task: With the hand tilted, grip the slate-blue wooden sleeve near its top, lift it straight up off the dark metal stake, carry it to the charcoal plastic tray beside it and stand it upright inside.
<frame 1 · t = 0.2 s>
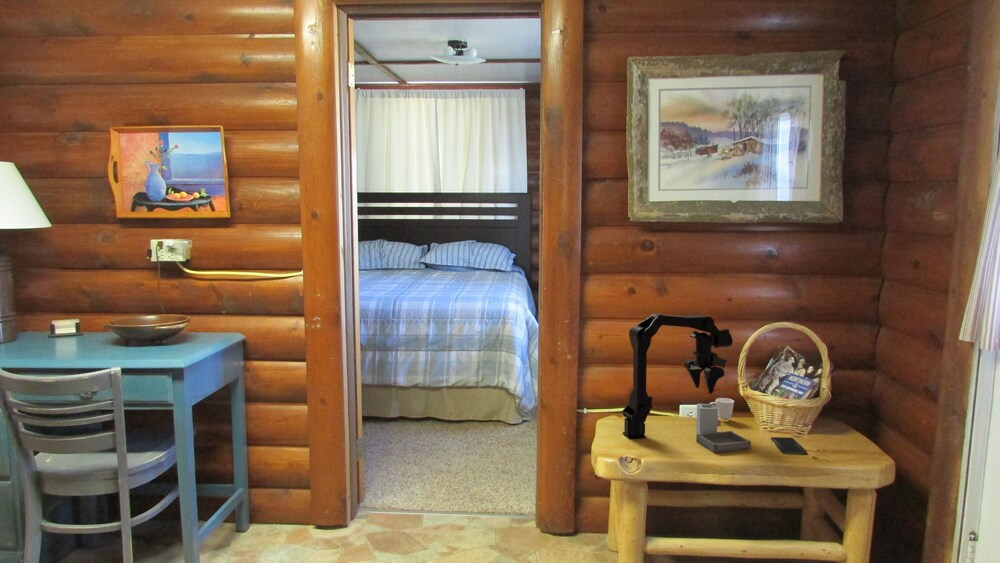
hand: (703, 390, 240), 15 cm above the table, tool pointing down, fingers open, 9 cm apart
tray: (723, 445, 224), on the table
cup: (720, 420, 252), on the table
phone: (788, 448, 222), on the table
sleeve: (706, 436, 234), on the table
stake: (706, 436, 234), on the table
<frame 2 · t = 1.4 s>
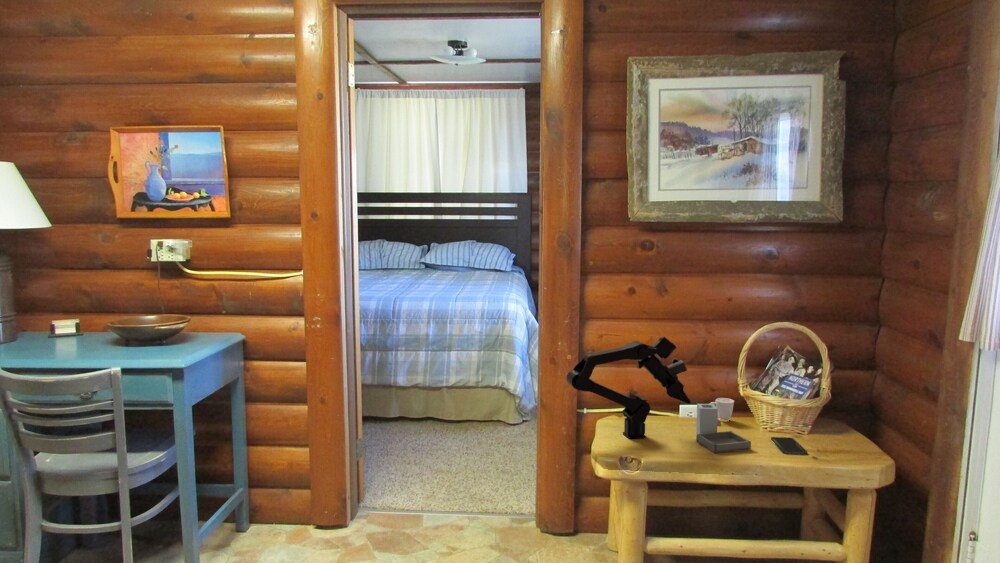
hand: (687, 399, 233), 13 cm above the table, tool tilted 45°, fingers open, 9 cm apart
nothing on the table moved.
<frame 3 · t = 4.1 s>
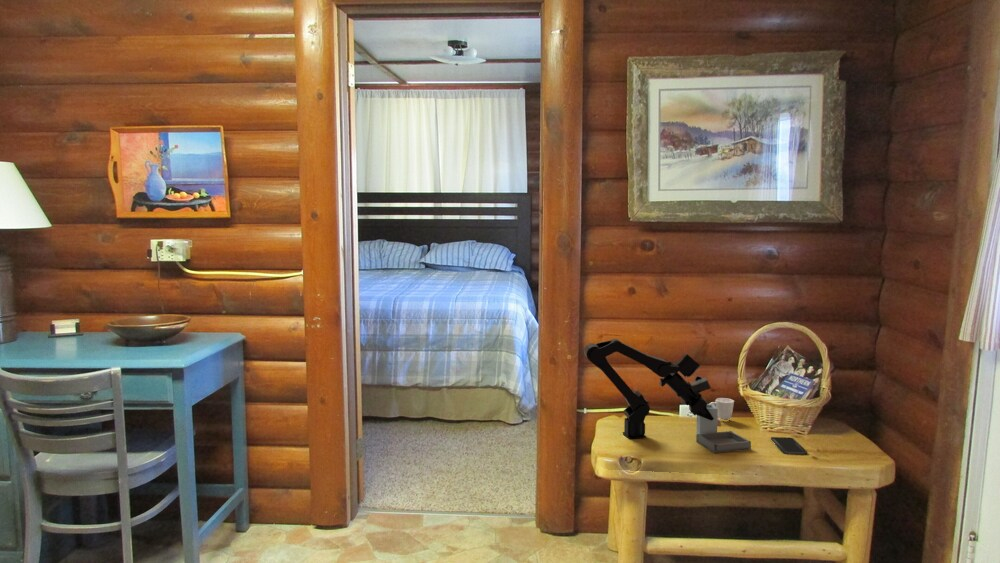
hand: (711, 416, 233), 7 cm above the table, tool tilted 45°, fingers closed on sleeve, 6 cm apart
sleeve: (706, 436, 234), on the table, touching gripper
everything else where it was.
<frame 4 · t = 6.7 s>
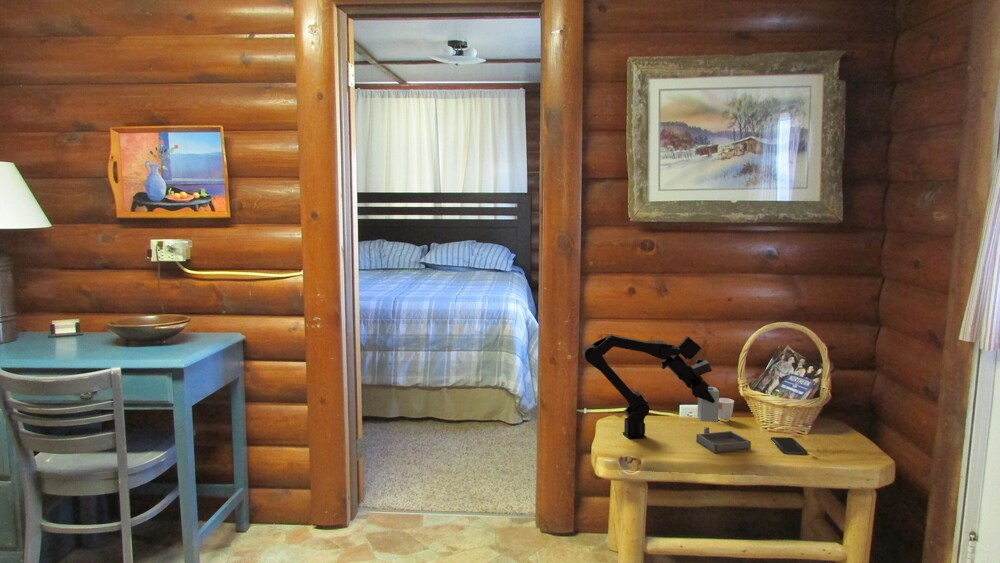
hand: (712, 399, 232), 14 cm above the table, tool tilted 45°, fingers closed on sleeve, 6 cm apart
sleeve: (707, 419, 233), point 6 cm above the table, touching gripper
everything else where it was.
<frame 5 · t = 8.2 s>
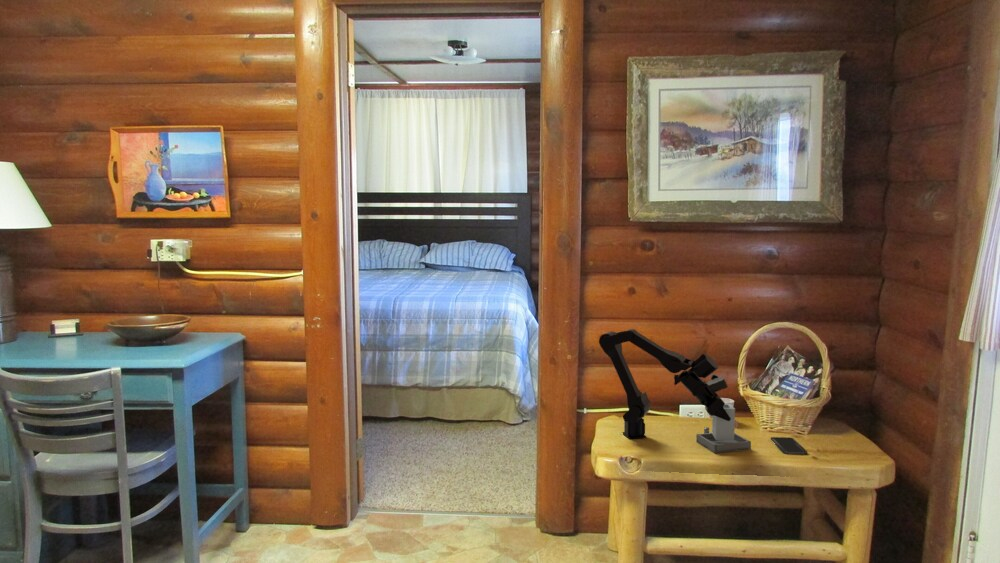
hand: (727, 417, 222), 10 cm above the table, tool tilted 45°, fingers closed on sleeve, 6 cm apart
sleeve: (722, 437, 223), point 3 cm above the table, touching gripper
everything else where it was.
when the fingers open (9 cm above the table, at t = 9.2 s): sleeve drops 1 cm, resting on tray.
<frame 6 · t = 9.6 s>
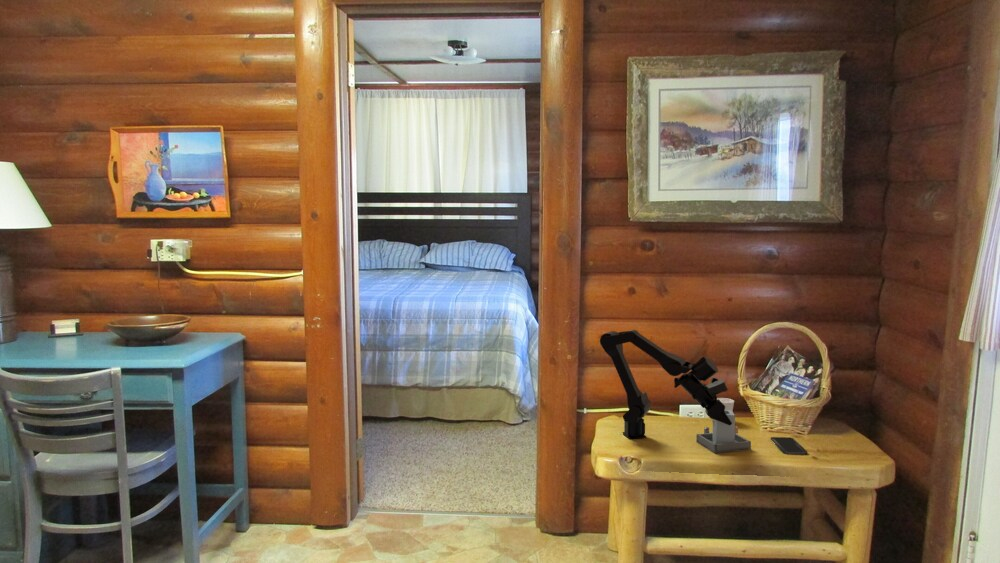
hand: (727, 420, 223), 9 cm above the table, tool tilted 45°, fingers open, 9 cm apart
sleeve: (723, 443, 223), point 1 cm above the table, touching tray
everything else where it was.
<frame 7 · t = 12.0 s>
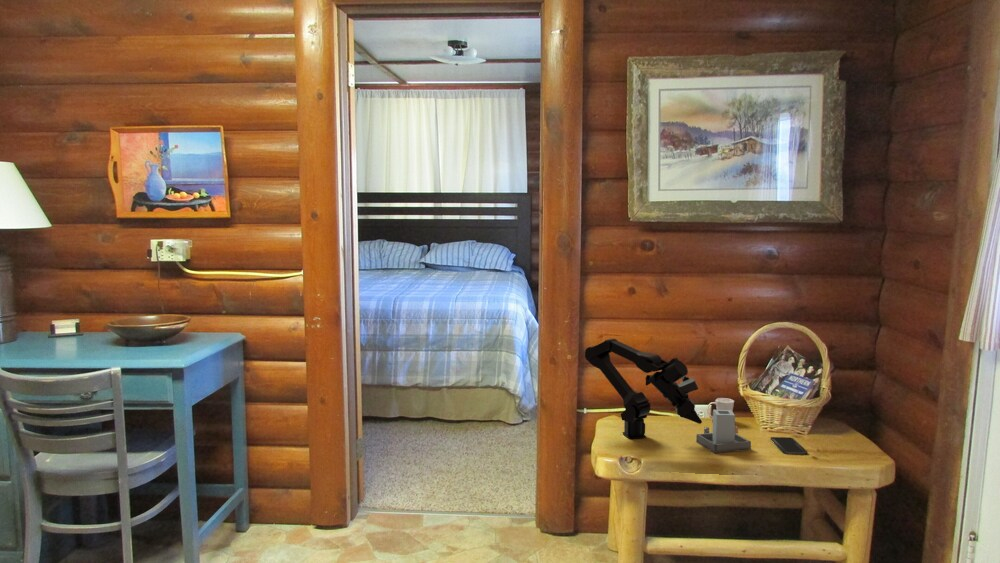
hand: (698, 418, 224), 9 cm above the table, tool tilted 45°, fingers open, 9 cm apart
nothing on the table moved.
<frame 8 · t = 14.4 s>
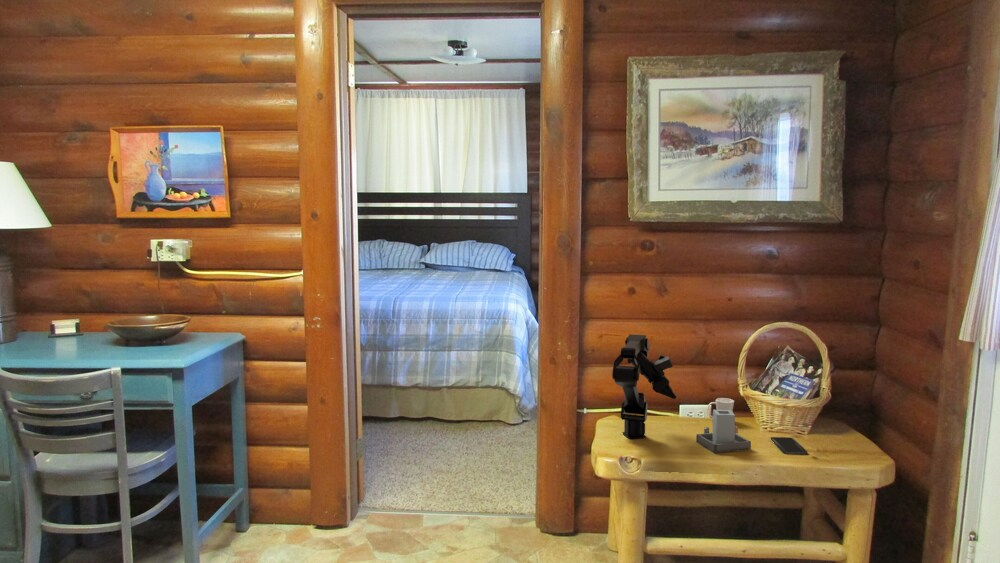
hand: (673, 394, 239), 14 cm above the table, tool tilted 45°, fingers open, 9 cm apart
nothing on the table moved.
at the end: sleeve inside the target area on the tray (0.0 cm from its centre), point 0.8 cm above the tray's base; sleeve tilted 0°; the gripper is holding nothing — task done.
